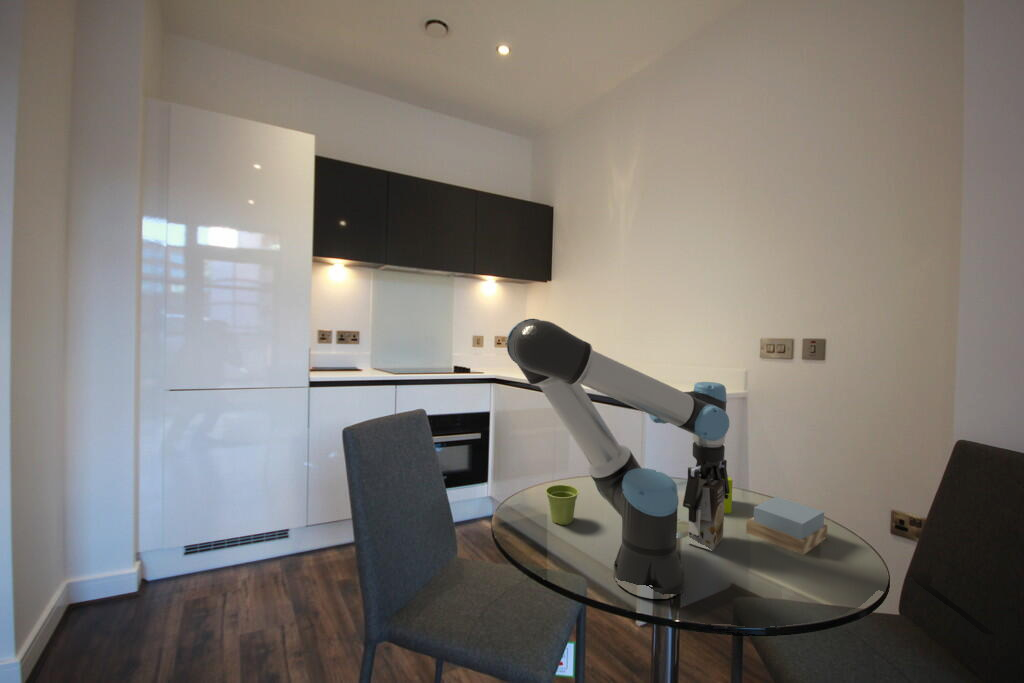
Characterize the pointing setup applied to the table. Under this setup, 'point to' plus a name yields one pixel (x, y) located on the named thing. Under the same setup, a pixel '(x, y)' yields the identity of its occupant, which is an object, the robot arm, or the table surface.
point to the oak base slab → (786, 537)
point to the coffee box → (711, 514)
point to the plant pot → (562, 503)
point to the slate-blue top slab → (789, 517)
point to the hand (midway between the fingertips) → (706, 527)
